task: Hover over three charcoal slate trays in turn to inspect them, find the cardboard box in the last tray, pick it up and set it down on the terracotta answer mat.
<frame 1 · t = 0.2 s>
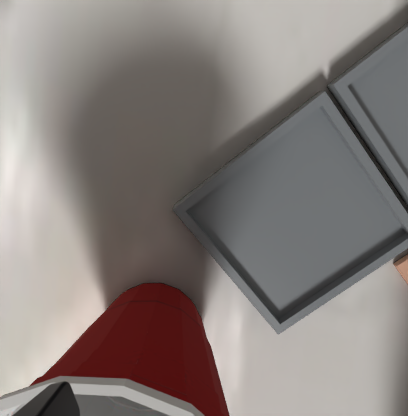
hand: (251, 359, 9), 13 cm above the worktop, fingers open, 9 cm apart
plastic cup: (151, 320, 23), on the worktop
tray C: (295, 218, 21), on the worktop
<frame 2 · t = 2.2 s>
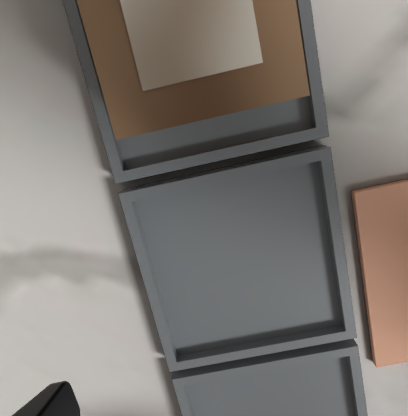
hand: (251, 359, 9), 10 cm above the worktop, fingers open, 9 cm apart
cardboard box: (196, 48, 16), resting on tray A
tray A: (196, 49, 17), on the worktop
tray B: (241, 261, 19), on the worktop
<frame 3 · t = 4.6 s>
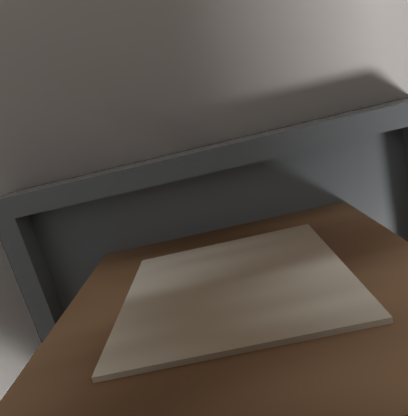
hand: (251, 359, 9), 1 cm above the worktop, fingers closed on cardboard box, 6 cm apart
cardboard box: (247, 333, 10), resting on tray A, touching gripper
tray A: (245, 325, 10), on the worktop
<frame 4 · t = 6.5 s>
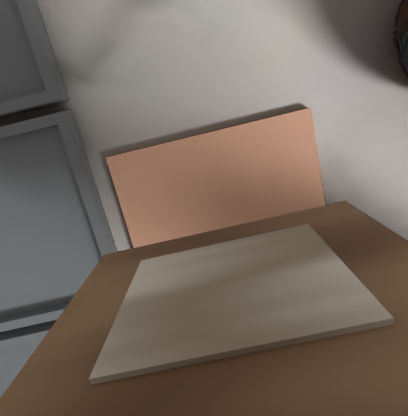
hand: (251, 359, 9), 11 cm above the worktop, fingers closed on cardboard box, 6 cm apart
cardboard box: (246, 334, 10), point 10 cm above the worktop, touching gripper
tray B: (11, 230, 19), on the worktop
answer mat: (228, 227, 19), on the worktop
tray C: (76, 394, 22), on the worktop
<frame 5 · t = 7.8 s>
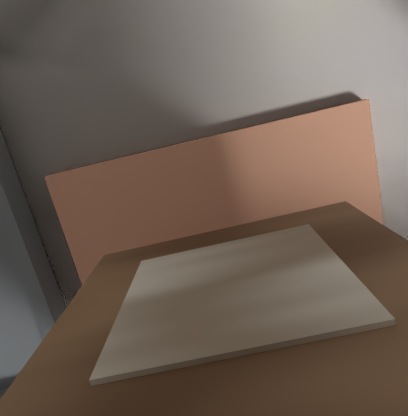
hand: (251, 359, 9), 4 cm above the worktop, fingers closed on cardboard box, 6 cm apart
cardboard box: (247, 334, 10), point 3 cm above the worktop, touching gripper
answer mat: (235, 281, 13), on the worktop
when the fingers open (3 cm above the worktop, at t = 8.6 s): cardboard box drops 1 cm, resting on answer mat.
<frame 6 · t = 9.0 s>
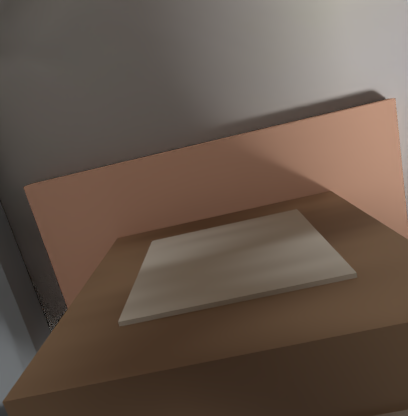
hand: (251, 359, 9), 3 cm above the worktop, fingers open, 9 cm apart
cardboard box: (244, 310, 11), resting on answer mat
answer mat: (240, 303, 11), on the worktop
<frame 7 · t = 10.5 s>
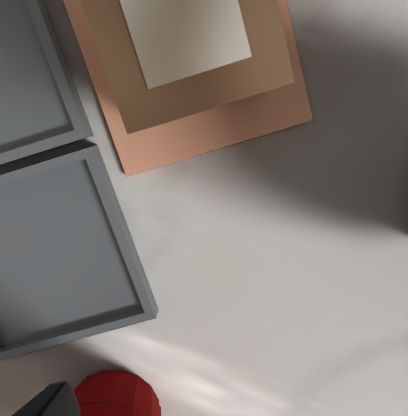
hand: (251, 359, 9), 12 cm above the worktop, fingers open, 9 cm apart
cardboard box: (190, 48, 18), resting on answer mat
plastic cup: (114, 407, 24), on the worktop
answer mat: (189, 50, 18), on the worktop
tray C: (46, 256, 21), on the worktop
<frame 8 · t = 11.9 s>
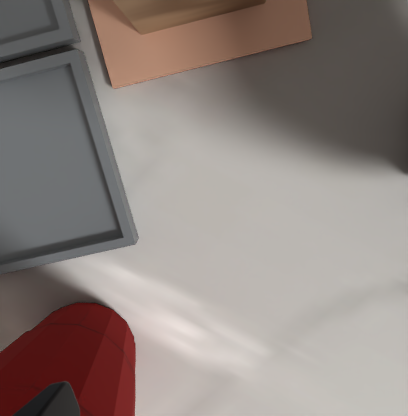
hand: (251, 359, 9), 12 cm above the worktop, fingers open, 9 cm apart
plastic cup: (87, 344, 23), on the worktop
tray C: (24, 172, 20), on the worktop
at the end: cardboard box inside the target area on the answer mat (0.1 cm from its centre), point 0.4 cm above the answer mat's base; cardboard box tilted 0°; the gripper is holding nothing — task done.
